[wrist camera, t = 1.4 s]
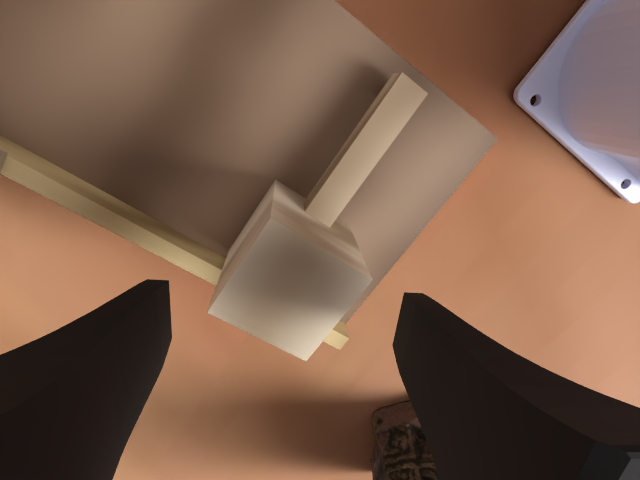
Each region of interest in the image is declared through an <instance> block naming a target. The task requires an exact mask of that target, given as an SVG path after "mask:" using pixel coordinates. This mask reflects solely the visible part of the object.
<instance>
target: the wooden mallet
mask: <svg viewBox="0 0 640 480" xmlns="http://www.w3.org/2000/svg"><path fill="white" fill-rule="evenodd" d="M427 95H428V93H427V92H426V91H424V90H423V89H422V88H421V87H420V86H418V85H417V84H416V83H415V82H414V81H412V80H411V79H410V78H409V77H408V76H406V75H405V74H404V73H403V72H400V73H393V74H392V76H391V77H390V79H389V80H388V81H387V83H386V84H385V86H384V87H383V89H382V90H381V91H380V93H379V94H378V96H377V97H376V99H375V100H374V102H373V103H372V104H371V106H370V107H369V109H368V110H367V112H366V113H365V115H364V116H363V117H362V119H361V120H360V122H359V123H358V125H357V126H356V128H355V129H354V130H353V132H352V133H351V135H350V136H349V138H348V139H347V141H346V142H345V143H344V145H343V146H342V148H341V149H340V151H339V152H338V154H337V155H336V156H335V158H334V159H333V161H332V162H331V164H330V165H329V167H328V168H327V169H326V171H325V172H324V174H323V175H322V177H321V178H320V179H319V181H318V182H317V184H316V185H315V187H314V188H313V190H312V191H311V192H310V194H309V195H308V197H307V198H304V197H302V196H301V195H299V194H298V193H296V192H295V191H293V190H292V189H290V188H288V187H287V186H285V185H284V184H282V183H281V182H279V181H278V180H276V179H275V181H274V182H273V184H272V185H271V187H270V188H269V190H268V191H267V193H266V194H265V196H264V198H263V199H262V201H261V202H260V204H259V205H258V207H257V208H256V210H255V211H254V213H253V214H252V216H251V217H250V219H249V221H248V222H247V224H246V225H245V227H244V228H243V230H242V231H241V233H240V234H239V236H238V237H237V239H236V240H235V242H234V243H233V245H232V247H231V248H230V250H229V251H228V254H227V257H226V260H225V263H224V266H223V268H222V271H221V274H220V277H219V280H218V282H217V285H216V288H215V291H214V294H213V297H212V299H211V302H210V305H209V308H208V311H207V313H209V314H211V315H213V316H215V317H217V318H219V319H221V320H223V321H225V322H227V323H229V324H231V325H233V326H235V327H237V328H239V329H241V330H243V331H245V332H247V333H249V334H251V335H253V336H255V337H258V338H260V339H262V340H264V341H266V342H268V343H270V344H272V345H274V346H276V347H278V348H280V349H282V350H284V351H286V352H288V353H290V354H292V355H294V356H296V357H298V358H300V359H302V360H304V361H307V360H308V358H309V357H310V356H311V355H312V354H313V352H314V351H315V350H316V349H317V347H318V346H319V345H320V344H321V343H322V341H323V340H324V339H325V338H326V336H327V335H328V334H329V333H330V331H331V330H332V329H333V328H334V327H335V325H336V324H337V323H338V322H339V320H340V319H341V318H342V317H343V316H344V314H345V313H346V312H347V311H348V309H349V308H350V307H351V306H352V305H353V303H354V302H355V301H356V300H357V298H358V297H359V296H360V295H361V293H362V292H363V291H364V290H365V289H366V287H367V286H368V285H369V284H370V282H371V281H372V280H373V279H372V277H371V274H370V272H369V270H368V267H367V265H366V263H365V261H364V258H363V256H362V254H361V251H360V249H359V247H358V245H357V242H356V240H355V238H354V235H353V233H352V231H351V229H350V227H349V226H348V225H346V224H345V223H343V222H341V221H340V220H338V219H337V217H338V216H339V214H340V213H341V212H342V210H343V209H344V208H345V206H346V205H347V203H348V202H349V201H350V199H351V198H352V197H353V195H354V194H355V193H356V191H357V190H358V189H359V187H360V186H361V184H362V183H363V182H364V180H365V179H366V178H367V176H368V175H369V174H370V172H371V171H372V169H373V168H374V167H375V165H376V164H377V163H378V161H379V160H380V159H381V157H382V156H383V154H384V153H385V152H386V150H387V149H388V148H389V146H390V145H391V144H392V142H393V141H394V140H395V138H396V137H397V135H398V134H399V133H400V131H401V130H402V129H403V127H404V126H405V125H406V123H407V122H408V120H409V119H410V118H411V116H412V115H413V114H414V112H415V111H416V110H417V108H418V107H419V105H420V104H421V103H422V101H423V100H424V99H425V97H426V96H427Z"/></svg>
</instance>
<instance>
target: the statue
mask: <svg viewBox="0 0 640 480" xmlns="http://www.w3.org/2000/svg"><path fill="white" fill-rule="evenodd" d="M372 425H373V431H374V435H375V437H376V439H377V441H378V442H377V444H376V446H375V448H374V450H373V457H372V458H371V462H372V473H373V480H439V477H438V474H437V471H436V467H435V464H434V460H433V457H432V454H431V451H430V448H429V446H428V443H427V440H426V437H425V435H424V433H423V430H422V428H421V425H420V423H419V420H418V418H417V415H416V413H415V411H414V408H413V406H412V403H411V401H409V402H403V403H398V404H396V405H392V406H388V407H384V408H381V409H379V410H377V411H375V412H374V414H373V424H372Z"/></svg>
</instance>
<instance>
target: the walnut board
mask: <svg viewBox="0 0 640 480" xmlns="http://www.w3.org/2000/svg"><path fill="white" fill-rule="evenodd" d="M400 72H403V73H404V74H405V75H406V76H408V77H409V78H410V79H411V80H412V81H414V82H415V83H416V84H417V85H418V86H420V87H421V88H422V89H423V90H424V91H426V92H427V93H428V95H427V96H426V97H425V99H424V100H423V101H422V103H421V104H420V105H419V107H418V108H417V110H416V111H415V112H414V114H413V115H412V116H411V118H410V119H409V120H408V122H407V123H406V125H405V126H404V127H403V129H402V130H401V131H400V133H399V134H398V135H397V137H396V138H395V140H394V141H393V142H392V144H391V145H390V146H389V148H388V149H387V150H386V152H385V153H384V154H383V156H382V157H381V159H380V160H379V161H378V163H377V164H376V165H375V167H374V168H373V169H372V171H371V172H370V174H369V175H368V176H367V178H366V179H365V180H364V182H363V183H362V184H361V186H360V187H359V189H358V190H357V191H356V193H355V194H354V195H353V197H352V198H351V199H350V201H349V202H348V203H347V205H346V206H345V208H344V209H343V210H342V212H341V213H340V214H339V216H338V217H337V219H338V220H340V221H341V222H343V223H345V224H346V225H348V226H349V227H350V229H351V231H352V233H353V235H354V238H355V240H356V242H357V245H358V247H359V249H360V251H361V254H362V256H363V258H364V261H365V263H366V265H367V267H368V270H369V272H370V274H371V277H372V279H373V280H372V281H371V282H370V284H369V285H368V286H367V287H366V289H365V290H364V291H363V292H362V293H361V295H360V296H359V297H358V298H357V300H356V301H355V302H354V303H353V305H352V306H351V307H350V308H349V309H348V311H347V312H346V313H345V314H344V316H343V317H342V318H341V319H340V320H339V322H338V323H337V324H336V325H335V327H334V328H333V329H332V330H331V331H330V333H329V334H328V335H327V336H326V338H325V339H324V340H323V341H324V342H325V343H327V344H329V345H331V346H333V347H335V348H337V349H339V350H340V349H341V348H342V346H343V345H344V344H345V343H346V342H347V340H348V339H349V335H348V331H347V327H346V323H347V321H348V320H349V319H350V318H351V317H352V315H353V314H354V313H355V312H356V311H357V309H358V308H359V307H360V306H361V304H362V303H363V302H364V301H365V300H366V298H367V297H368V296H369V295H370V294H371V292H372V291H373V290H374V289H375V287H376V286H377V285H378V284H379V283H380V281H381V280H382V279H383V278H384V277H385V275H386V274H387V273H388V272H389V271H390V269H391V268H392V267H393V266H394V264H395V263H396V262H397V261H398V260H399V258H400V257H401V256H402V255H403V254H404V252H405V251H406V250H407V249H408V248H409V246H410V245H411V244H412V243H413V241H414V240H415V239H416V238H417V237H418V235H419V234H420V233H421V232H422V231H423V229H424V228H425V227H426V226H427V224H428V223H429V222H430V221H431V220H432V218H433V217H434V216H435V215H436V214H437V212H438V211H439V210H440V209H441V208H442V206H443V205H444V204H445V203H446V201H447V200H448V199H449V198H450V197H451V195H452V194H453V193H454V192H455V191H456V189H457V188H458V187H459V186H460V184H461V183H462V182H463V181H464V180H465V178H466V177H467V176H468V175H469V174H470V172H471V171H472V170H473V169H474V168H475V166H476V165H477V164H478V163H479V161H480V160H481V159H482V158H483V157H484V155H485V154H486V153H487V152H488V151H489V149H490V148H491V147H492V146H493V145H494V143H495V142H496V141H497V140H498V138H497V137H496V136H495V135H493V134H492V133H491V132H490V131H489V130H488V129H486V128H485V127H484V126H483V125H482V124H480V123H479V122H478V121H477V120H476V119H475V118H473V117H472V116H471V115H470V114H469V113H467V112H466V111H465V110H464V109H463V108H462V107H460V106H459V105H458V104H457V103H456V102H454V101H453V100H452V99H451V98H450V97H449V96H447V95H446V94H445V93H444V92H443V91H442V90H440V89H439V88H438V87H437V86H436V85H434V84H433V83H432V82H431V81H430V80H429V79H427V78H426V77H425V76H424V75H423V74H421V73H420V72H419V71H418V70H417V69H416V68H414V67H413V66H412V65H411V64H410V63H408V62H407V61H406V60H405V59H404V58H403V57H401V56H400V55H399V54H398V53H397V52H395V51H394V50H393V49H392V48H391V47H390V46H388V45H387V44H386V43H385V42H384V41H382V40H381V39H380V38H379V37H378V36H377V35H375V34H374V33H373V32H372V31H371V30H369V29H368V28H367V27H366V26H365V25H364V24H362V23H361V22H360V21H359V20H358V19H356V18H355V17H354V16H353V15H352V14H351V13H349V12H348V11H347V10H346V9H345V8H343V7H342V6H341V5H340V4H339V3H338V2H336V1H335V0H0V174H2V175H3V176H5V177H7V178H9V179H11V180H13V181H15V182H17V183H19V184H21V185H23V186H25V187H27V188H29V189H30V190H32V191H34V192H36V193H38V194H40V195H42V196H44V197H46V198H48V199H50V200H52V201H54V202H56V203H57V204H59V205H61V206H63V207H65V208H67V209H69V210H71V211H73V212H75V213H77V214H79V215H81V216H83V217H84V218H86V219H88V220H90V221H92V222H94V223H96V224H98V225H100V226H102V227H104V228H106V229H108V230H110V231H111V232H113V233H115V234H117V235H119V236H121V237H123V238H125V239H127V240H129V241H131V242H133V243H135V244H137V245H138V246H140V247H142V248H144V249H146V250H148V251H150V252H152V253H154V254H156V255H158V256H160V257H162V258H164V259H165V260H167V261H169V262H171V263H173V264H175V265H177V266H179V267H181V268H183V269H185V270H187V271H189V272H190V273H192V274H194V275H196V276H198V277H200V278H202V279H204V280H206V281H208V282H210V283H212V284H214V285H217V282H218V280H219V277H220V274H221V271H222V268H223V266H224V263H225V260H226V257H227V254H228V251H229V250H230V248H231V247H232V245H233V243H234V242H235V240H236V239H237V237H238V236H239V234H240V233H241V231H242V230H243V228H244V227H245V225H246V224H247V222H248V221H249V219H250V217H251V216H252V214H253V213H254V211H255V210H256V208H257V207H258V205H259V204H260V202H261V201H262V199H263V198H264V196H265V194H266V193H267V191H268V190H269V188H270V187H271V185H272V184H273V182H274V181H275V179H276V180H278V181H279V182H281V183H282V184H284V185H285V186H287V187H288V188H290V189H292V190H293V191H295V192H296V193H298V194H299V195H301V196H302V197H304V198H307V197H308V195H309V194H310V192H311V191H312V190H313V188H314V187H315V185H316V184H317V182H318V181H319V179H320V178H321V177H322V175H323V174H324V172H325V171H326V169H327V168H328V167H329V165H330V164H331V162H332V161H333V159H334V158H335V156H336V155H337V154H338V152H339V151H340V149H341V148H342V146H343V145H344V143H345V142H346V141H347V139H348V138H349V136H350V135H351V133H352V132H353V130H354V129H355V128H356V126H357V125H358V123H359V122H360V120H361V119H362V117H363V116H364V115H365V113H366V112H367V110H368V109H369V107H370V106H371V104H372V103H373V102H374V100H375V99H376V97H377V96H378V94H379V93H380V91H381V90H382V89H383V87H384V86H385V84H386V83H387V81H388V80H389V79H390V77H391V76H392V74H393V73H400Z"/></svg>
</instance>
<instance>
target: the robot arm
mask: <svg viewBox="0 0 640 480" xmlns="http://www.w3.org/2000/svg"><path fill="white" fill-rule="evenodd" d="M534 95H535V96H536V101H535V103H534V104H533V105H532V106H531V104H530V100H531V98H532V96H534ZM513 96H514V101H515V102H516V103H517V104H518V105H519V106H520V107H521V108H522V109H523V110H524V111H526V112H527V113H528V114H529V115H530V116H531V117H532V118H533V119H534V120H536V121H537V122H538V123H539V124H540V125H541V126H542V127H543V128H544V129H545V130H547V131H548V132H549V133H550V134H551V135H552V136H553V137H554V138H555V139H557V140H558V141H559V142H560V143H561V144H562V145H563V146H564V147H565V148H566V149H568V150H569V151H570V152H571V153H572V154H573V155H574V156H575V157H576V158H578V159H579V160H580V161H581V162H582V163H583V164H584V165H585V166H586V167H587V168H589V169H590V170H591V171H592V172H593V173H594V174H595V175H596V176H597V177H599V178H600V179H601V180H602V181H603V182H604V183H605V184H606V185H607V186H609V187H610V188H611V189H612V190H613V191H614V192H615V193H616V194H617V195H618V196H620V197H621V198H622V199H623V200H624V201H626V202H629V203H637V202H639V201H640V0H586V1H585V3H584V4H583V5H582V6H581V8H580V9H579V10H578V11H577V13H576V14H575V15H574V16H573V18H572V19H571V20H570V21H569V23H568V24H567V25H566V26H565V28H564V29H563V30H562V31H561V32H560V34H559V35H558V36H557V37H556V39H555V40H554V41H553V42H552V44H551V45H550V46H549V47H548V49H547V50H546V51H545V52H544V54H543V55H542V56H541V57H540V59H539V60H538V61H537V62H536V64H535V65H534V66H533V67H532V69H531V70H530V71H529V72H528V73H527V75H526V76H525V77H524V78H523V80H522V81H521V82H520V83H519V85H518V86H517V87H516V89H515V91H514V95H513ZM623 181H624V183H623V185H622V186H621V183H622V182H623ZM171 339H172V330H171V312H170V293H169V281H168V280H148V279H147V280H145V281H143V282H141V283H139V284H137V285H136V286H134V287H132V288H131V289H129V290H127V291H126V292H124V293H122V294H121V295H119V296H117V297H115V298H114V299H112V300H110V301H109V302H107V303H105V304H104V305H102V306H100V307H98V308H97V309H95V310H93V311H91V312H90V313H88V314H86V315H84V316H82V317H80V318H78V319H76V320H75V321H73V322H71V323H69V324H67V325H65V326H63V327H61V328H60V329H58V330H56V331H54V332H52V333H49V334H47V335H45V336H43V337H41V338H39V339H37V340H34V341H32V342H30V343H28V344H25V345H23V346H21V347H18V348H16V349H14V350H11V351H9V352H6V353H4V354H1V355H0V480H112V479H113V477H114V474H115V471H116V468H117V466H118V463H119V460H120V457H121V455H122V453H123V450H124V448H125V446H126V443H127V441H128V439H129V437H130V434H131V432H132V430H133V428H134V426H135V424H136V422H137V420H138V418H139V416H140V414H141V412H142V410H143V407H144V405H145V403H146V401H147V399H148V397H149V395H150V393H151V391H152V389H153V387H154V385H155V382H156V380H157V378H158V376H159V374H160V372H161V370H162V367H163V364H164V361H165V358H166V355H167V352H168V349H169V346H170V342H171ZM393 349H394V353H395V358H396V362H397V365H398V369H399V373H400V376H401V378H402V381H403V383H404V386H405V388H406V391H407V393H408V396H409V398H410V401H411V403H412V406H413V408H414V411H415V413H416V415H417V418H418V420H419V423H420V425H421V428H422V430H423V433H424V435H425V437H426V440H427V443H428V446H429V448H430V451H431V454H432V457H433V460H434V464H435V467H436V471H437V474H438V477H439V480H640V408H638V407H636V406H633V405H630V404H628V403H625V402H622V401H620V400H617V399H614V398H611V397H609V396H606V395H604V394H601V393H599V392H596V391H594V390H591V389H589V388H586V387H584V386H582V385H579V384H577V383H575V382H573V381H570V380H568V379H566V378H564V377H561V376H559V375H557V374H555V373H553V372H551V371H549V370H547V369H545V368H542V367H540V366H539V365H537V364H535V363H533V362H531V361H529V360H527V359H525V358H523V357H522V356H520V355H518V354H516V353H514V352H513V351H511V350H509V349H507V348H506V347H504V346H502V345H501V344H499V343H497V342H496V341H494V340H493V339H491V338H489V337H488V336H486V335H485V334H483V333H482V332H480V331H478V330H477V329H475V328H474V327H472V326H471V325H469V324H468V323H467V322H465V321H464V320H462V319H461V318H459V317H458V316H456V315H455V314H454V313H452V312H451V311H449V310H448V309H446V308H445V307H443V306H442V305H441V304H439V303H438V302H436V301H435V300H433V299H432V298H430V297H428V296H427V295H425V294H423V293H404V296H403V300H402V305H401V309H400V314H399V319H398V323H397V328H396V332H395V337H394V341H393Z"/></svg>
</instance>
